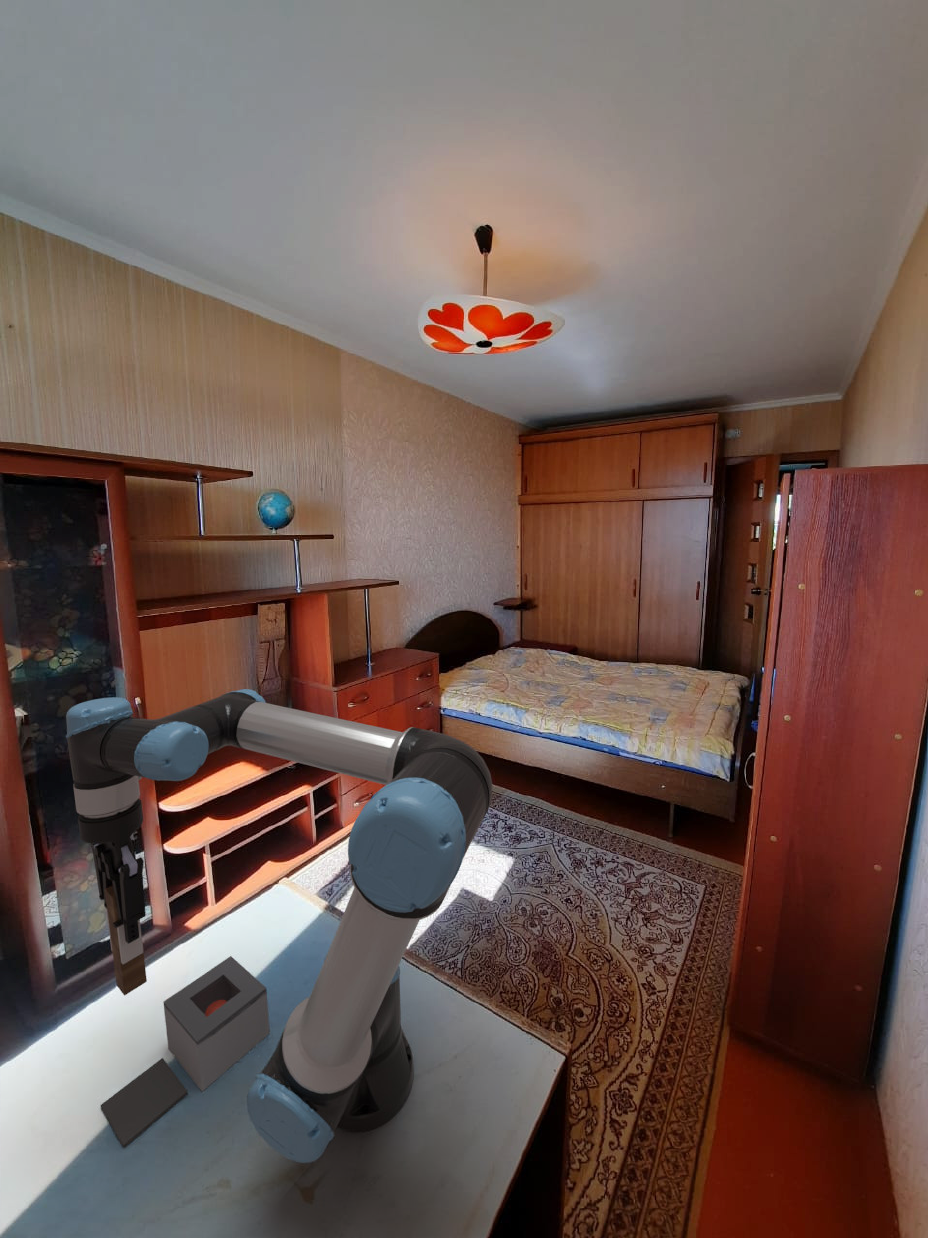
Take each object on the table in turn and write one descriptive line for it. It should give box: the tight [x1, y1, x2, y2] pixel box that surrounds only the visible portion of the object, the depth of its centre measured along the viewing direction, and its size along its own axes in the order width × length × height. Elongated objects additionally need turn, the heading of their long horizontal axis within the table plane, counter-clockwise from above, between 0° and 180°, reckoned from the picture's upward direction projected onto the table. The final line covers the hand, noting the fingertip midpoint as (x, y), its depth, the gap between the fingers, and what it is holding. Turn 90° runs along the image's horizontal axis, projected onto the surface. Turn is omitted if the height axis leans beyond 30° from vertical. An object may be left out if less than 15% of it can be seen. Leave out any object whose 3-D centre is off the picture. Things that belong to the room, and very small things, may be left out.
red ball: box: [205, 1000, 227, 1017], centre depth 87 cm, size 4×4×4 cm
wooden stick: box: [105, 886, 148, 996], centre depth 74 cm, size 3×3×16 cm
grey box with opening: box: [162, 955, 271, 1092], centre depth 87 cm, size 12×12×9 cm
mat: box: [100, 1057, 189, 1149], centre depth 78 cm, size 9×9×1 cm
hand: (127, 951), depth 75 cm, fingers closed on wooden stick, 3 cm apart
